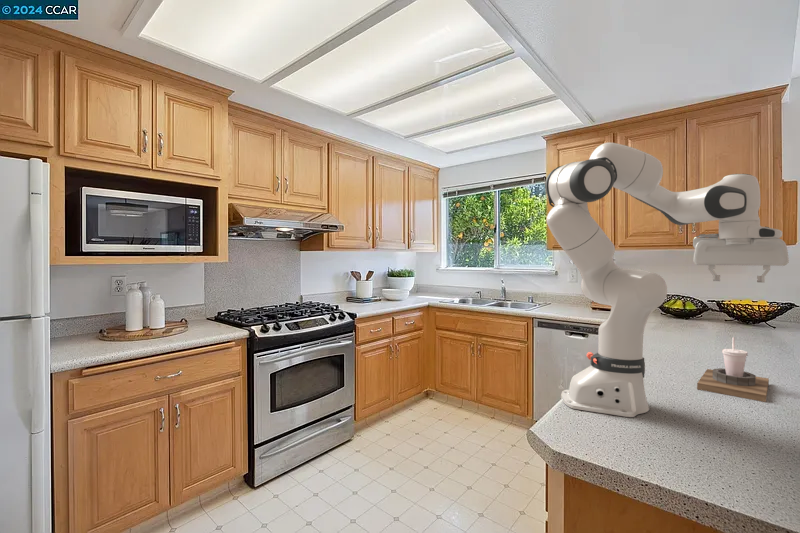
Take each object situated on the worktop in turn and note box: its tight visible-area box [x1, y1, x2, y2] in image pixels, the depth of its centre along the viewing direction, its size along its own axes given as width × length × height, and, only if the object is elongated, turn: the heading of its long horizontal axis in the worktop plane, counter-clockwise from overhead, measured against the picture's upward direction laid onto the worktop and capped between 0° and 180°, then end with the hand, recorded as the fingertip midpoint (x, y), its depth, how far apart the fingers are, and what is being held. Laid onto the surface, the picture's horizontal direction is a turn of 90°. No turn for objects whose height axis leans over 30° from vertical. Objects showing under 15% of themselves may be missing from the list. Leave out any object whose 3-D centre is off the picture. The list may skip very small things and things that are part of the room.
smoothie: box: [721, 336, 749, 377], centre depth 126 cm, size 6×6×14 cm
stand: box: [696, 368, 770, 403], centre depth 126 cm, size 22×16×4 cm
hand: (738, 281), depth 110 cm, fingers open, 8 cm apart
